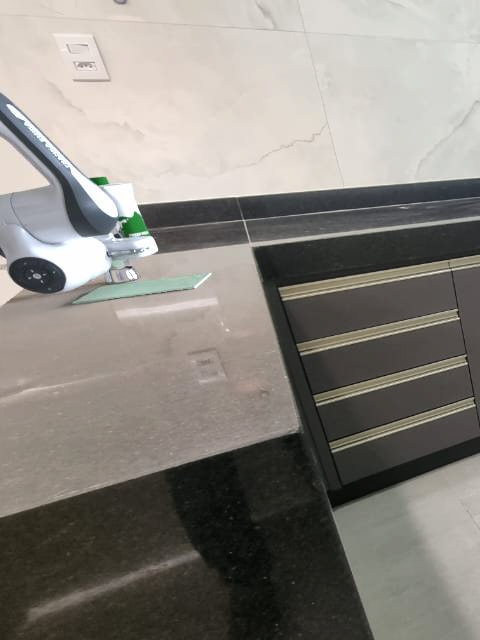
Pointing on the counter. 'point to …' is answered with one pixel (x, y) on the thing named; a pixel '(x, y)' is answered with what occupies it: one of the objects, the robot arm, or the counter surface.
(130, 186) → the milk carton
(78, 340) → the counter surface
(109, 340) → the counter surface
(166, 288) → the drying mat
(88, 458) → the counter surface
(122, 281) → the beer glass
